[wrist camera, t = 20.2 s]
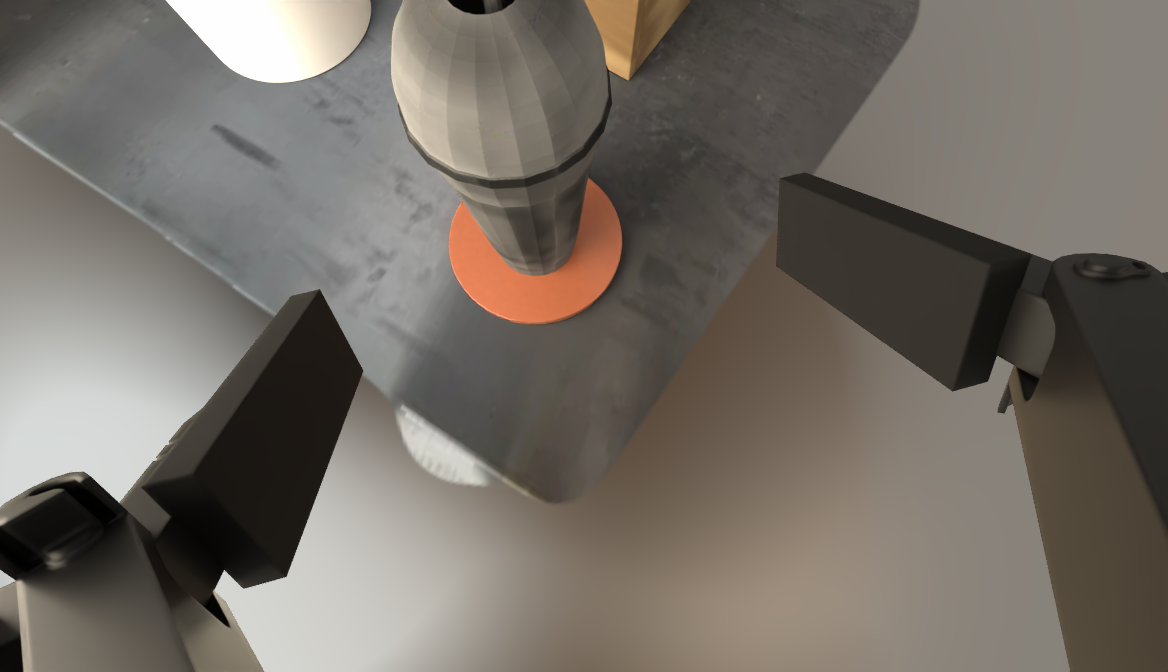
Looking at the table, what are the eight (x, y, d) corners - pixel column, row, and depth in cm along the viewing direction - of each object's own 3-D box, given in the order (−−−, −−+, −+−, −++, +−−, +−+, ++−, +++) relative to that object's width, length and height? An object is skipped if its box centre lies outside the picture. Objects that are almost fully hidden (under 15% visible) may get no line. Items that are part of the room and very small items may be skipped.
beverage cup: (463, 293, 27) (143, -140, 7) (482, 177, 28) (267, -426, 9) (593, 305, 26) (629, -101, 7) (604, 188, 28) (658, -398, 9)
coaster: (596, 151, 29) (596, 146, 29) (642, 300, 27) (643, 297, 27) (436, 187, 29) (434, 183, 28) (469, 343, 26) (467, 342, 26)
